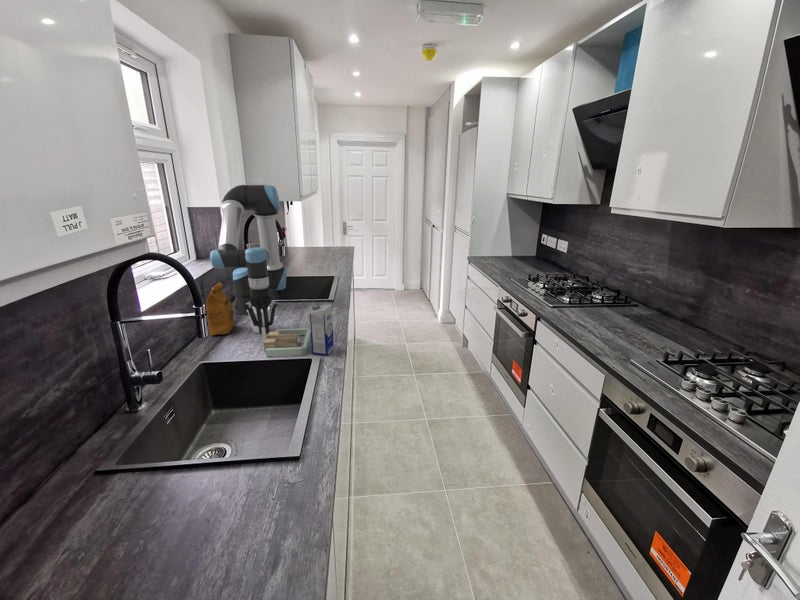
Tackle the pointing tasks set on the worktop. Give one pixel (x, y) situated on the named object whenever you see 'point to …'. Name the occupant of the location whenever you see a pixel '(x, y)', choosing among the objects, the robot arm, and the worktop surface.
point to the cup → (256, 328)
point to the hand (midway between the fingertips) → (265, 340)
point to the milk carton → (321, 330)
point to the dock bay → (291, 350)
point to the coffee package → (219, 312)
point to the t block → (280, 340)
